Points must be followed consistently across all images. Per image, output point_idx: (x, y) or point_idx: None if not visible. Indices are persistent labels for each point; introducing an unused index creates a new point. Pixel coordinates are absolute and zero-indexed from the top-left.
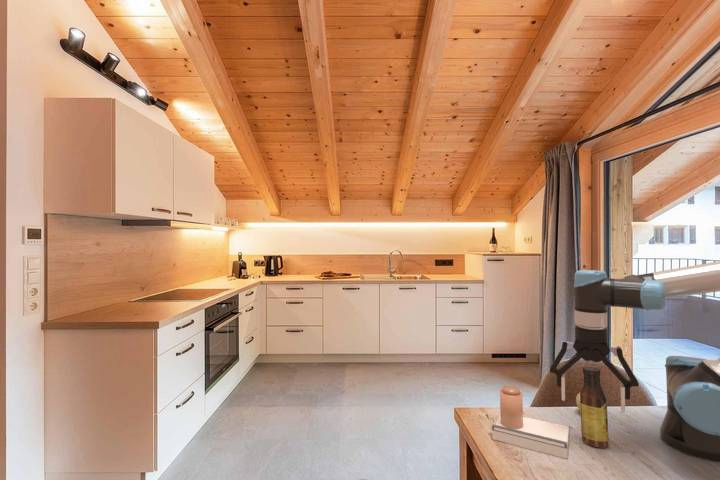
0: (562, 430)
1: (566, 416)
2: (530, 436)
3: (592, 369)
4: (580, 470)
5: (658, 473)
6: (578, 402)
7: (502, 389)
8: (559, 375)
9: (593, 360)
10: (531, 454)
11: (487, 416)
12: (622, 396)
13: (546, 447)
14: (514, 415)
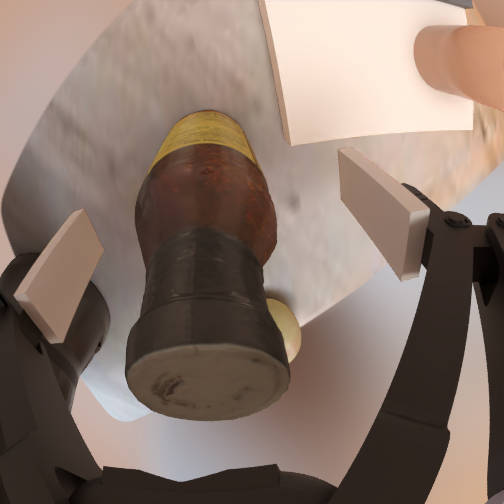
0: (304, 100)
1: (312, 263)
2: None
3: (184, 378)
4: None
5: (47, 106)
6: (291, 318)
7: None
8: (445, 215)
9: (152, 488)
10: None
11: (482, 125)
12: (45, 255)
13: None
14: (456, 26)
